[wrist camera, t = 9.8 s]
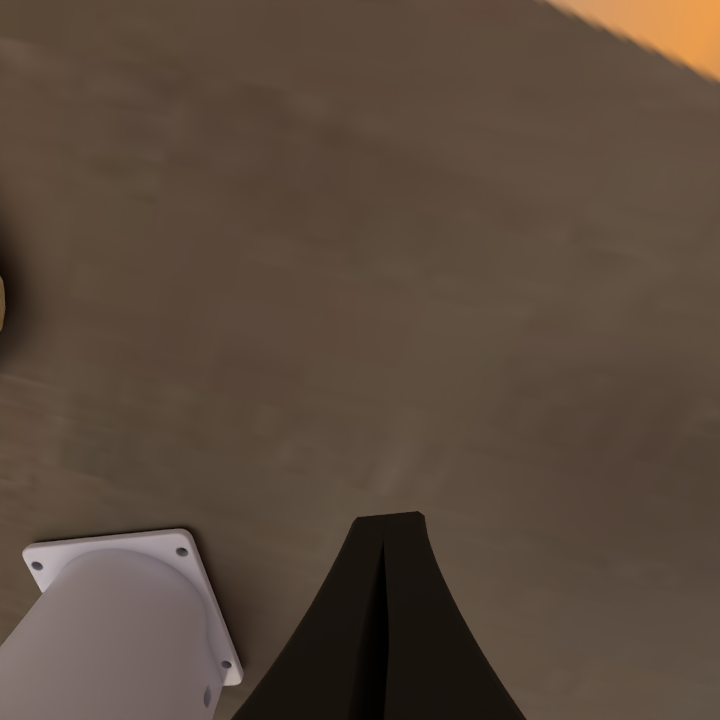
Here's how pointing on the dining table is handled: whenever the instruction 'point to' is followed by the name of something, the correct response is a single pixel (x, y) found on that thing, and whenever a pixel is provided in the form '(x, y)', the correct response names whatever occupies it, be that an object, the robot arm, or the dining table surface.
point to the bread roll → (2, 303)
